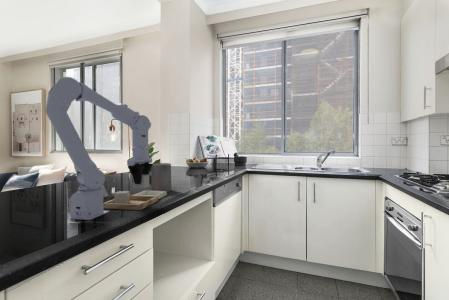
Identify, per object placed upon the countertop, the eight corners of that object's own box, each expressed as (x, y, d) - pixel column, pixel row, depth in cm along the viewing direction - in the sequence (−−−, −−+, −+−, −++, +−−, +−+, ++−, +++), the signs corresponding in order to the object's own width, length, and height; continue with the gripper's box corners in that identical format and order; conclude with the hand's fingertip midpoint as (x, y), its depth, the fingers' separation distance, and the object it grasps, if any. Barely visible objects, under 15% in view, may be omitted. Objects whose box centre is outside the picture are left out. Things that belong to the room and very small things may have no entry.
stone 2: (144, 187, 88) (143, 175, 88) (132, 187, 89) (132, 175, 89) (149, 186, 92) (149, 174, 92) (138, 185, 93) (138, 174, 93)
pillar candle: (155, 189, 124) (154, 160, 124) (173, 189, 124) (173, 160, 124) (148, 193, 115) (147, 162, 114) (168, 193, 114) (167, 162, 114)
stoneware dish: (155, 201, 98) (155, 196, 97) (132, 200, 99) (132, 195, 99) (166, 195, 108) (166, 191, 108) (145, 195, 110) (145, 190, 110)
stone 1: (126, 204, 91) (126, 193, 90) (114, 205, 90) (114, 193, 90) (130, 202, 94) (129, 191, 94) (118, 202, 94) (118, 191, 94)
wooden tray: (140, 211, 83) (140, 205, 83) (101, 209, 86) (101, 203, 86) (158, 201, 97) (158, 196, 97) (124, 200, 100) (124, 195, 100)
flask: (86, 198, 104) (85, 175, 104) (101, 195, 110) (101, 173, 110) (96, 200, 101) (96, 176, 100) (111, 197, 107) (111, 174, 107)
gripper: (140, 147, 82) (140, 186, 83) (158, 147, 97) (159, 180, 97) (121, 147, 84) (122, 186, 84) (142, 147, 98) (143, 180, 98)
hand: (140, 183), depth 91 cm, fingers closed on stone 2, 4 cm apart
